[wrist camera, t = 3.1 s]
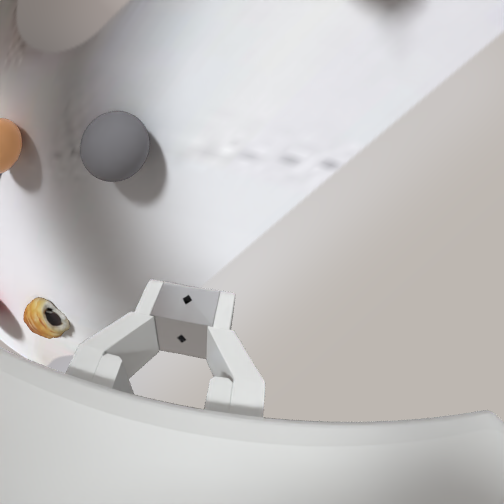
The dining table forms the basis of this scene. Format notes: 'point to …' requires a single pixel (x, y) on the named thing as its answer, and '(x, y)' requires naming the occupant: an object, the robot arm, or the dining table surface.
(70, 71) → the dining table surface
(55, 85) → the dining table surface
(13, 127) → the object ball
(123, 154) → the grey matte sphere
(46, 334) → the pastry
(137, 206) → the dining table surface
